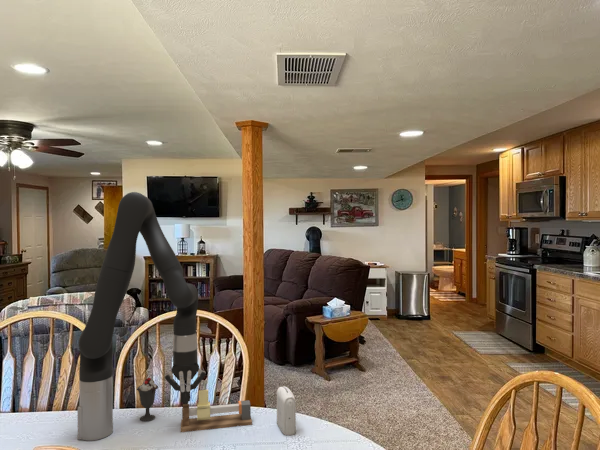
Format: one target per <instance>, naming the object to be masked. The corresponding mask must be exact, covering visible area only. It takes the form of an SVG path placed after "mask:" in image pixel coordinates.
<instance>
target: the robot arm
mask: <svg viewBox="0 0 600 450" xmlns="http://www.w3.org/2000/svg"><path fill="white" fill-rule="evenodd" d="M139 234H140V235H141V236H142V238H143V240H144V241H145V244H146V247H147V249H148V252H149V255H150V258H151V260H152V262H153V264H154V266H155V269H156V270H157V272H158V274H159V275H160V277H161V279H162V280H163V284H164V288H165V291H166V295H167V296H168V299H169V300H170V302H171V304H173V305H172V306H174V307H175V308H176V313H175V316H174V319H173V326H172V327H173V329H172V330H173V335H172V336H173V337H172V366H171V370H170V371H169V372H167V373H166V374H165V375H164V380H166V381H167V383H168V384H169V385H170V386H171V388H172V389H174V390H175V391H176V392H177V391H178V392H180V402H181V403H182V405H183V404H189V402H191V391H192V390H196V389H197V387H198V386H199V384H200V383H201V382H202V381H203V379H204V378H205V377H206V370H203V369H201V368H200V365H199V361H198V346H199V345H198V336H197V313H198V305H199V292H198V289H197V288H196V286H195V285H194V284H193V283H189V282H187V281H186V279H185V276H184V268H183V266H182V264H181V262H180V261H179V259H178V257H177V255H176V253H175V251H174V250H173V248H172V246H171V245H170V243H169V241H168V239H167V238H166V236H165V234H164V232H163V230H162V227H161V225H160V223H159V221H158V218H157V215H156V212H155V208H154V205H153V202H152V200H150V199H149V198H148V197H147V196H146V195H145V194H143V193H140V192H137V191H132V192H129V193H126V194H125V195H124V196H122V197H121V200H120V201H119V203H118V207H117V212H116V218H115V224H114V228H113V232H112V235H111V238H110V241H109V244H108V246H107V249H106V252H105V255H104V258H103V262H102V265H101V267H100V271H99V274H98V278H97V282H96V286H95V290H94V296H93V304H92V309H91V312H90V314H89V316H88V320H87V321H86V324H85V327H84V328H83V330H82V331H81V332H80V336H79V338H78V348H79V369H78V370H79V371H78V373H79V374H78V378H79V379H78V380H79V387H78V388H79V405H78V406H77V408H76V409H77V440H79V441H80V440H82V441H97V440H102V439H104V438H106V437H108V436H110V435H111V434H113V432H114V422H113V421H114V412H113V411H114V409H113V408H114V407H113V405H114V403H113V402H114V401H113V399H114V398H113V397H114V396H113V395H114V394H113V392H114V390H113V389H114V388H113V383H114V382H113V381H114V380H113V367H114V366H113V365H114V364H113V360H114V359H113V337H114V331H115V326H116V322H117V317H118V314H119V311H120V308H121V306H122V304H123V301H125V300H124V299H125V297H126V295H127V292H128V288H129V286H130V284H131V279H132V276H133V273H134V269H135V264H136V256H137V255H136V254H137V242H138V241H137V240H138V237H139ZM196 375H197V377H196V378H195V376H196ZM174 377H175V378H176V380H175V379H174ZM194 378H195V380H194V381H193V383H191V382H192V380H193V379H194ZM177 380H178V381H179V383H178V382H177ZM185 381H186V385H185Z"/></svg>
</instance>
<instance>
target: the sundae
mask: <svg viewBox="0 0 600 450" xmlns="http://www.w3.org/2000/svg"><path fill="white" fill-rule="evenodd" d="M148 376H149V374H146V376H145V379H144V380H143V382H142V384H141V385H139V386H138V387H137V388H136V391H138V395H139V401H140V405H141V406H142V408H144V409H145V414H144V415H143V416H141V417H139V421H140V422H151V421H153V420H155V419H156V416H155V415H154V414H151V412H150V409H151V407H152V406H153V405H154V404H155V397H156V392H157V391H156V390H157V389H159V386H158V385H157V384H156V383H155V380H154V379H152V378H151V377H148Z"/></svg>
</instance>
